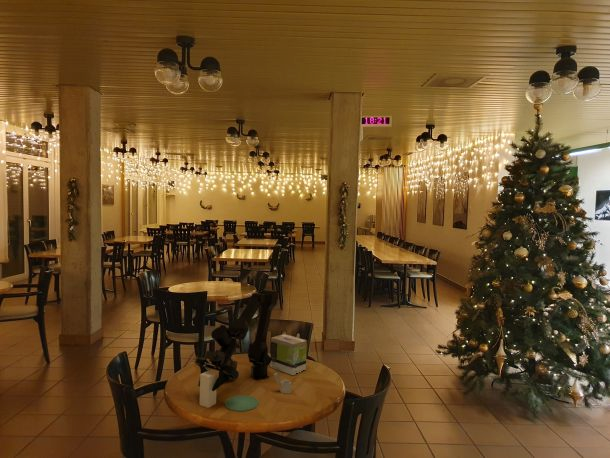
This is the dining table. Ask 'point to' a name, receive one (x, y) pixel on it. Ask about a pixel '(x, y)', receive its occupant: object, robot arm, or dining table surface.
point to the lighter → (283, 384)
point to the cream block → (207, 389)
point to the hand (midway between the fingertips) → (205, 388)
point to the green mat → (241, 403)
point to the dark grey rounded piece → (232, 364)
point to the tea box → (288, 354)
